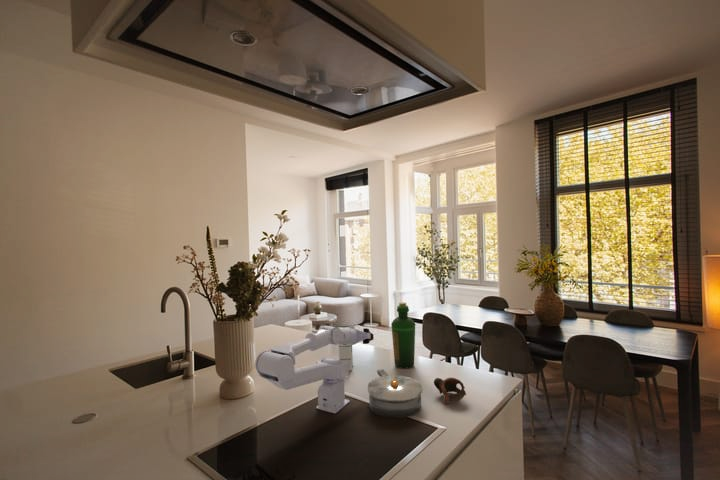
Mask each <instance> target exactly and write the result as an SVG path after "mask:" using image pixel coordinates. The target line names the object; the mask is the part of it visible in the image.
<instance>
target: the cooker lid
mask: <svg viewBox="0 0 720 480" xmlns="http://www.w3.org/2000/svg"><path fill="white" fill-rule="evenodd" d="M376 373H377V374H378V376H379V377H376V378H374V379H372V380H371V381H370V382H368V384H367V392H368V394H370V395H371V396H372V397H374V398H376V399H378V400H381V401H386V402H406V401H410V400H413V399H415V398H417V397H419V396H420V395H421V396H422V393H423V386H422V384H421V382H420V381H418V380H417V379H415V378H412V377H410V376H405V375H397V374H396V375H390V374H388V372H386V370H384V369H377V371H376Z"/></svg>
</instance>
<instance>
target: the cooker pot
mask: <svg viewBox="0 0 720 480" xmlns="http://www.w3.org/2000/svg"><path fill="white" fill-rule="evenodd" d="M368 394H369V393H368ZM368 397H369V408H370V410H371V412H372V413H374V414H375V415H378V416H380V417H384V418H388V419H405V418H409V417H413V416H415V415H417V414H418V413H419V412H420V411H421V409H422V394H421V395H420V396H419V397H417V398H415V399H413V400H410V401H406V402H386V401H381V400H378V399H376V398H374V397H372V396H371V395H370V394H369V395H368Z"/></svg>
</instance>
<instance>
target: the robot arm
mask: <svg viewBox="0 0 720 480" xmlns="http://www.w3.org/2000/svg"><path fill="white" fill-rule="evenodd" d="M348 327H349V328H348ZM348 327H340V326H337V327H336V326H329V325H320V327H318V329H312V330H311V332H309V333H307V334H306V335H305V337H304V338H303V339H302V338H301V339H299V340H296V341H291V342H289V343H286V344H281V345H278V346H273V347H270V348H268V350H263V351H261V352H259V354H257V356H256V359H255V363H254V368H255V370H256V372H257V374H258V376H259V377H260V378H263V379H265V380H266V381H268V382H270V383H271V384H273V385H274V386H276V387H277V388H279V389H282V390H285V391H287V390H292V389H295V388H299V387H303V386H306V385H309V384H312V383H316V382H319V381H322V383H321V385H320V386H319V387H318V389H317V406H316V407H315V409H317V410H321V411H324V412H328V413H332V414H336V413H338V412H339V411H340V410H342V409H343V408H344V407H346V405H347V404H349V403H350V402H351V400H349V399H346V398H345V397H346V395H345V380H346V379H347V377H348V376H349V372H350V371H349V365H348V363H347V362H346V361H339V359H335V358H330V357H327V356H324V357H322V358H321V359H320V360H318V361H316V362H315V364H310V365H306V366H302V367H297V368H295V366H296V357H297V356H298V355H300V354H301V353H302V354H303V353H304V352H306V351H308V350H309V351H311V352H314V351H318V350H319V349H321V348H324V347H327V346H329V345H334V346H337V345H338V344H343V345H347V344H349V345H352V346H353V345H356V344H359V343H360V342H362V344H363V345H368V344H369V343H370V342H371V341H373V340H374V334H373V333H372V332H370V329H369V328H363V329H362V330H360V329H357V328H356V327H355V325H354V324H351V325H349V326H348Z"/></svg>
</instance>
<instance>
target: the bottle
mask: <svg viewBox="0 0 720 480" xmlns="http://www.w3.org/2000/svg"><path fill="white" fill-rule="evenodd" d="M398 304H399V305H397V307H396V312H397V314H398V316H397V317H396V318H394V319H393V320H392V322H391V324H390V325H391V335H392V336H391V337H392V348H393V359H394V366H395V367H396V368H399V369H405V370H406V369H411V368H413V367H414V366H415V351H416V349H415V348H416V346H415V345H416V322H415V321H414V320H413V319H412V318H411V317H409V315H408V314H409V312H410V308H409V305H408V304H407V302H398Z"/></svg>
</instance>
